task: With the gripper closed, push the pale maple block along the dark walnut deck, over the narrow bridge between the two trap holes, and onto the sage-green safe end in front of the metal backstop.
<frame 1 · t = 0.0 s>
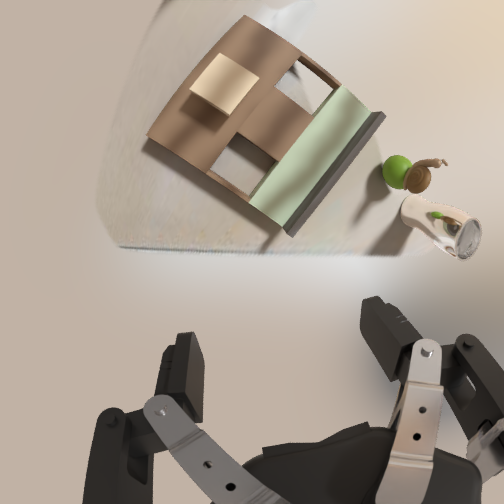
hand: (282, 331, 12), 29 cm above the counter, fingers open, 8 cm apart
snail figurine: (390, 167, 39), on the counter
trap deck: (265, 118, 35), on the counter
beer glass: (412, 209, 42), on the counter
block: (224, 87, 30), point 2 cm above the counter, touching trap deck
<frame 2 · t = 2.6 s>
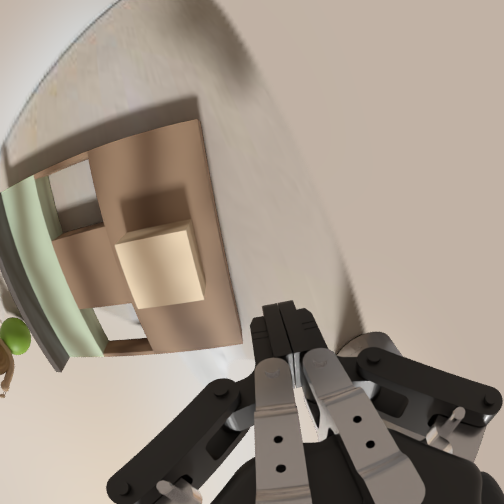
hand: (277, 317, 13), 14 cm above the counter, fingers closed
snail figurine: (25, 327, 28), on the counter
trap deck: (110, 259, 25), on the counter
block: (166, 257, 23), point 2 cm above the counter, touching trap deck
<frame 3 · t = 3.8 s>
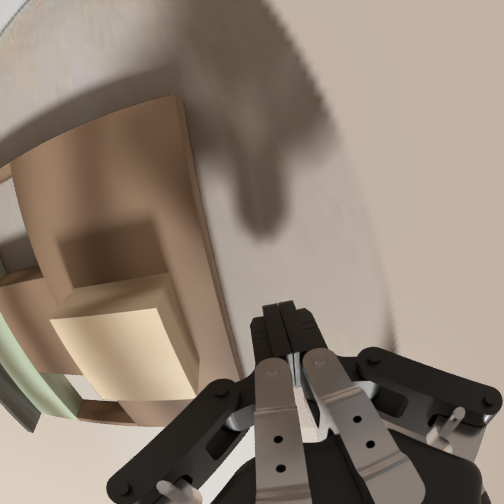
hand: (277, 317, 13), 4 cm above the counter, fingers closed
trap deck: (65, 312, 16), on the counter
block: (136, 327, 14), point 2 cm above the counter, touching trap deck
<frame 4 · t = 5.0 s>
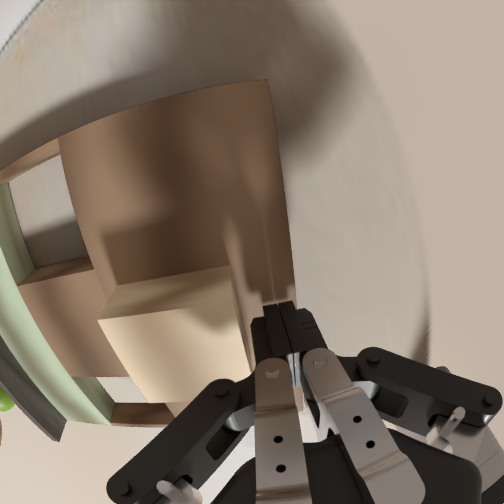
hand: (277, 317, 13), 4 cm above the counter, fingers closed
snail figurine: (9, 375, 19), on the counter
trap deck: (107, 309, 16), on the counter
block: (186, 323, 14), point 2 cm above the counter, touching gripper, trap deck
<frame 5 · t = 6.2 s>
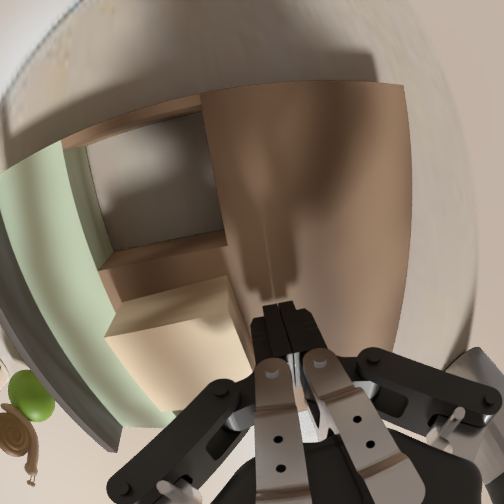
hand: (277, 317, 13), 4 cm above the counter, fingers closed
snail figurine: (44, 380, 19), on the counter
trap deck: (207, 296, 16), on the counter
block: (191, 333, 14), point 3 cm above the counter, touching gripper, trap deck
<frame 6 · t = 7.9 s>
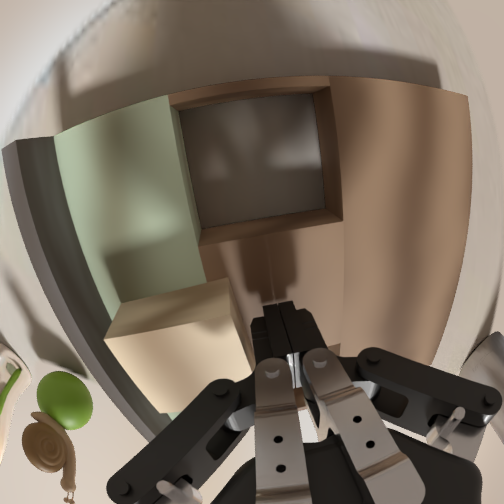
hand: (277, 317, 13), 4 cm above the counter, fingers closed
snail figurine: (77, 381, 19), on the counter
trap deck: (297, 276, 16), on the counter
beer glass: (11, 362, 18), on the counter
block: (191, 335, 14), point 2 cm above the counter, touching gripper, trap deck
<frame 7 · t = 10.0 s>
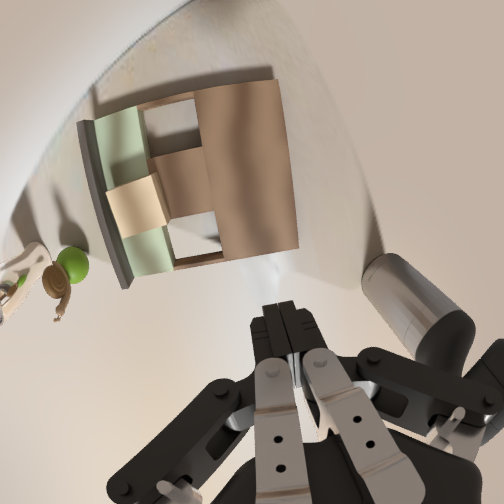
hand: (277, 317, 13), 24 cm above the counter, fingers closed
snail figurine: (81, 259, 36), on the counter
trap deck: (194, 179, 33), on the counter
beer glass: (39, 257, 35), on the counter
block: (142, 202, 31), point 2 cm above the counter, touching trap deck
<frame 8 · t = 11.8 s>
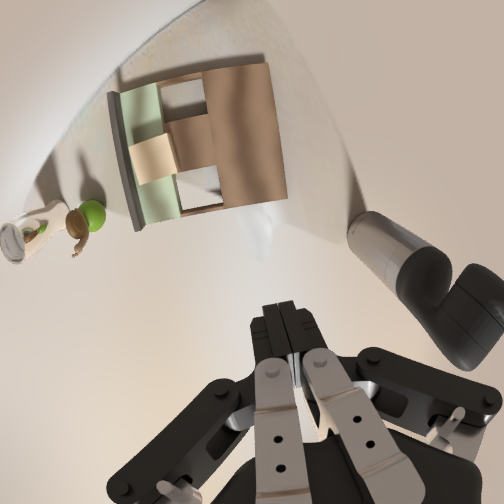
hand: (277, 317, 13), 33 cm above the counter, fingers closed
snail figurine: (98, 213, 42), on the counter
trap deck: (200, 141, 39), on the counter
beer glass: (58, 214, 41), on the counter
block: (157, 158, 37), point 2 cm above the counter, touching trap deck
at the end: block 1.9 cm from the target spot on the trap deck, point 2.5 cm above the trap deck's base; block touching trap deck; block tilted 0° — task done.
